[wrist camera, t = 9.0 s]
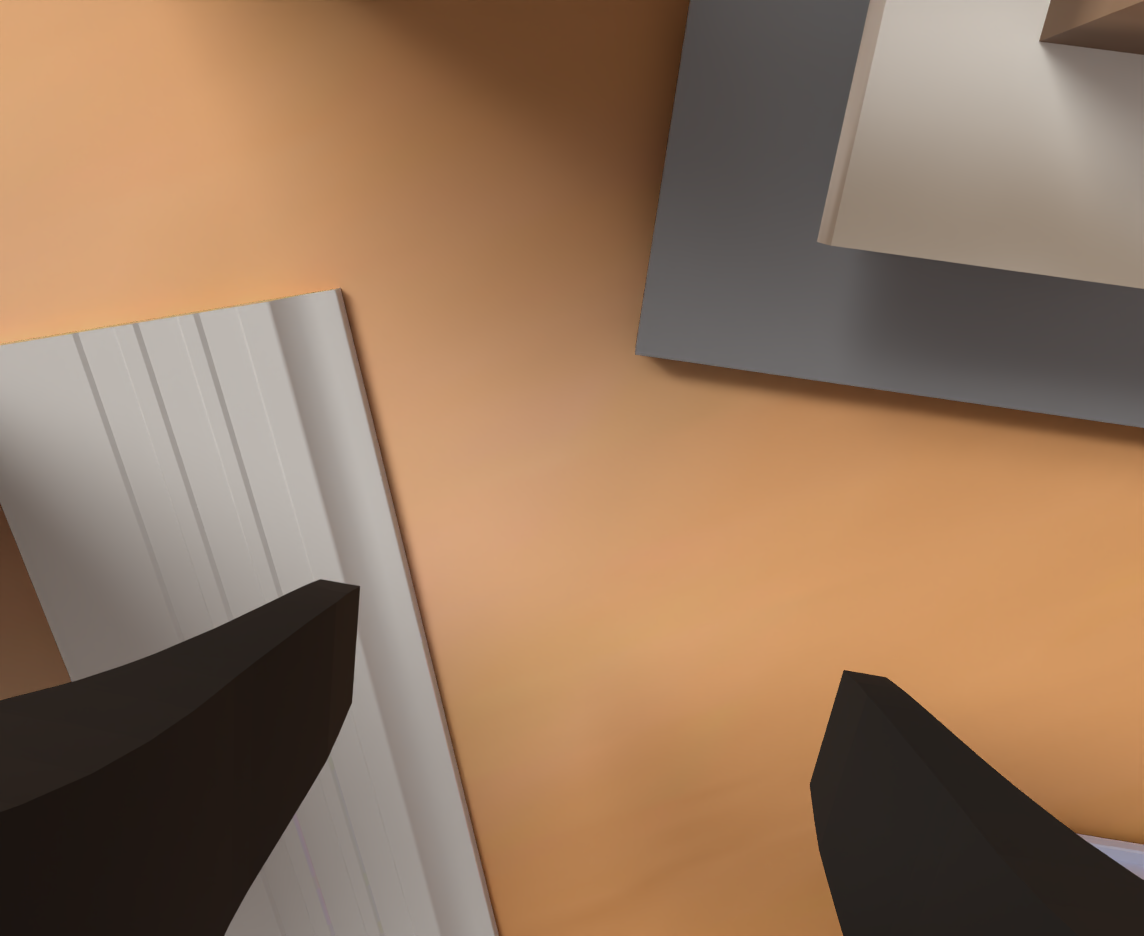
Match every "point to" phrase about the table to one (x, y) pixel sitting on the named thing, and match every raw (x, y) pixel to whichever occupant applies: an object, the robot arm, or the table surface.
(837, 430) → the table surface
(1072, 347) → the peg stand
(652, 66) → the table surface
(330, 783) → the baseboard molding
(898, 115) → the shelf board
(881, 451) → the table surface
